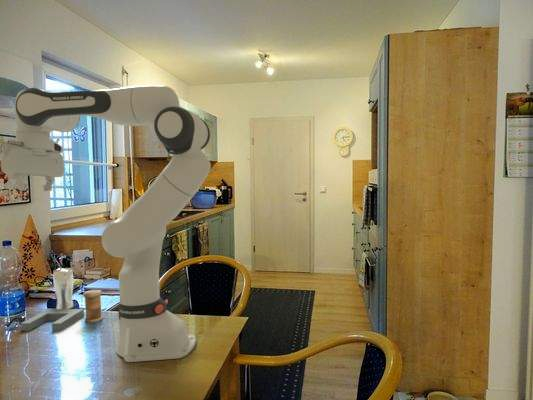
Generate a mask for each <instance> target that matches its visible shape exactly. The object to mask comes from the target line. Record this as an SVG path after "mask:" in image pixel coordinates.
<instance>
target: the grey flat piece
mask: <svg viewBox="0 0 533 400" xmlns="http://www.w3.org/2000/svg"><path fill="white" fill-rule="evenodd" d="M84 316H85V310H84V308H70V309H56V308H47V309H46V310H43V311H41V312H40V313H38V314H36V315H33V316H32V317H30V318H28V319H26V320H24V321H22V322H20V331H22V332H26V331H27V332H30V331H31V330H34V329H35V328H36V327H39V326H41V325H42V324H44V323H46V322H48V321H54V322H52V323H51V331H52V332H55V331H57V332H60V331H63V330H65V329H66V328H68V327H70V326H71V325H72V324H74V323H75V322H77V321H78V320H80V319H82V318H83V317H84Z"/></svg>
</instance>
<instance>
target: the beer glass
mask: <svg viewBox="0 0 533 400" xmlns="http://www.w3.org/2000/svg"><path fill="white" fill-rule="evenodd" d="M52 275H53V280H52V281H53V288H54V292H55V295H56V308H55V309H74V305H75V304H74V301H73V292H74V282H75V281H74V273H73V268H71V267H65V268H64V267H63V268H56V269H55V270H53V273H52Z"/></svg>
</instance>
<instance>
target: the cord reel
mask: <svg viewBox="0 0 533 400" xmlns="http://www.w3.org/2000/svg"><path fill="white" fill-rule="evenodd" d="M82 295H83V297H84V305H85V317H84V322H85V323H86V324H93V322H95V323H98V321H99V322H101V321H103V319H104V316H103V314H102V303H101V302H102V301H101V295H102V290H101V289H91V290H87V291H84V292H83V294H82ZM100 320H101V321H100Z"/></svg>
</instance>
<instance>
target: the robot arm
mask: <svg viewBox="0 0 533 400" xmlns="http://www.w3.org/2000/svg"><path fill="white" fill-rule="evenodd" d="M81 116H86V117H93V118H98V119H101V120H104V121H107V122H109V123H113V124H116V125H119V126H127V127H142V126H151V125H153V129H154V132H155V134H156V136H157V138H158V140H159V141H160V142H161V144H162V145H163V147H164V148H165V150H166V152H167V153H168V154H171V155H172V156H171V159H170V161H169V162H168V164H167V165H166V166H165V167H164V168H163V170H162V171H161V172H160V173H159V175H158V176H157V177H156V178H155V179H154V181H153V182H152V183H151V185H150V186H149V187H148V188H147V189H146V191H144V193H142V195H140V196H139V197H138V198H137V199H136V200H135V201H134V202H133V203H132V204H131V205H129V206H128V208H126V209H125V210H124V211H123V212H122V213H121V214H120V215H119V216H118V217H117V218H116V219H115V220H114V221H112V222H111V223H109V224H108V225H107V226H106V227H105V228H104V229H103V231H102V234H101V244H102V248H103V249H104V251H105V252H106V253H107V254H108V255H110V256H111V257H114V258H119V259H120V258H121V259H123V258H124V260H123V263H122V267H121V269H120V271H119V274H118V290H119V292H118V293H119V302H118V320H119V321H120V322H119V337H118V343H117V346H116V350H115V351H116V354H117V355H118V356H119V357H122V358H123V360H124V362H125V363H137V362H147V361H161V360H174V359H175V360H176V359H181V358H184V357H186V356H187V355H189V354H190V353H191V351H193V350H194V348H195V345H196V344H197V339H196V337H195V335H193V334H189V331H188V328H187V327H188V326H187V325H186V324H187V323H186V322H185V321H184V320H183V319H182V318H180V317H178V316H176V314H174V313H172V312H170V311H169V310H167V304H168V303H169V302H168V300H169V299H168V298H167V299H165V300H164V299H162V297H161V296H160V263H161V256H162V252H163V251H162V250H163V243H164V239H165V236H166V234H167V226H168V224H170V222H172V221H173V220H174V219H175V218H176V217H177V216H179V215H180V213H181V212H182V210H183V209H184V208H185V207H186V206H187V204H188V203H189V202H190V201H191V200H192V199H193V198H194V196H195V195H196V193H197V192H198V191H199V190H200V188H201V186H202V185H203V184H204V183H205V180H206V179H207V177H208V175H209V174H210V171H211V169H212V167H211V166H212V165H211V161H210V159H209V158H208V156H207V155H206V154H205V153H204V152H203V151H202V150H203V149H205V148H206V147H207V145H208V144H209V142H210V140H211V130H210V126H209V125H208V124H207V122H206V121H205V120H204V119H202V118H201V117H199V116H198V115H197V114H196V113H195V112H192V111H191V110H188V109H186V108H184V107H182V106H180V99H179V97H178V94H177V93H176V91H175V90H174V89H173V88H171V87H169V86H167V85H166V86H165V85H158V84H157V85H155V84H151V85H150V84H146V85H145V84H143V85H133V86H126V87H118V88H111V89H110V88H109V89H98V90H80V91H79V90H77V91H76V90H74V91H59V92H49V91H44V90H42V89H41V88H37V87H29V88H24V89H21V90H19V91H18V92H17V94H16V97H15V102H14V121H15V123H16V131H15V140H14V141H13V140H6V141H5V142H4V143H3V144H2V152H1V160H0V170H1V171H2V173H3V174H7V175H13V180H15V182H16V184H17V190H18V191H27V190H28V183H25V181H24V177H25V176H33V177H44V178H45V181H46V182H45V184H44V185H43V191H44V192H52V190H53V184H54V182H55V178H63V175H64V174H65V164H64V163H65V162H64V161H65V160H64V156H63V155H62V154H63V152H64V147H63V146H62V145H60V144H58V143H57V142H56V141H55V140H53V139H52V138H51V132H52V131H54V132H59V133H69V132H72V131H74V130H75V129H76V128H77V126H78V125H79V123H80V121H81V120H80V118H81Z"/></svg>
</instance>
